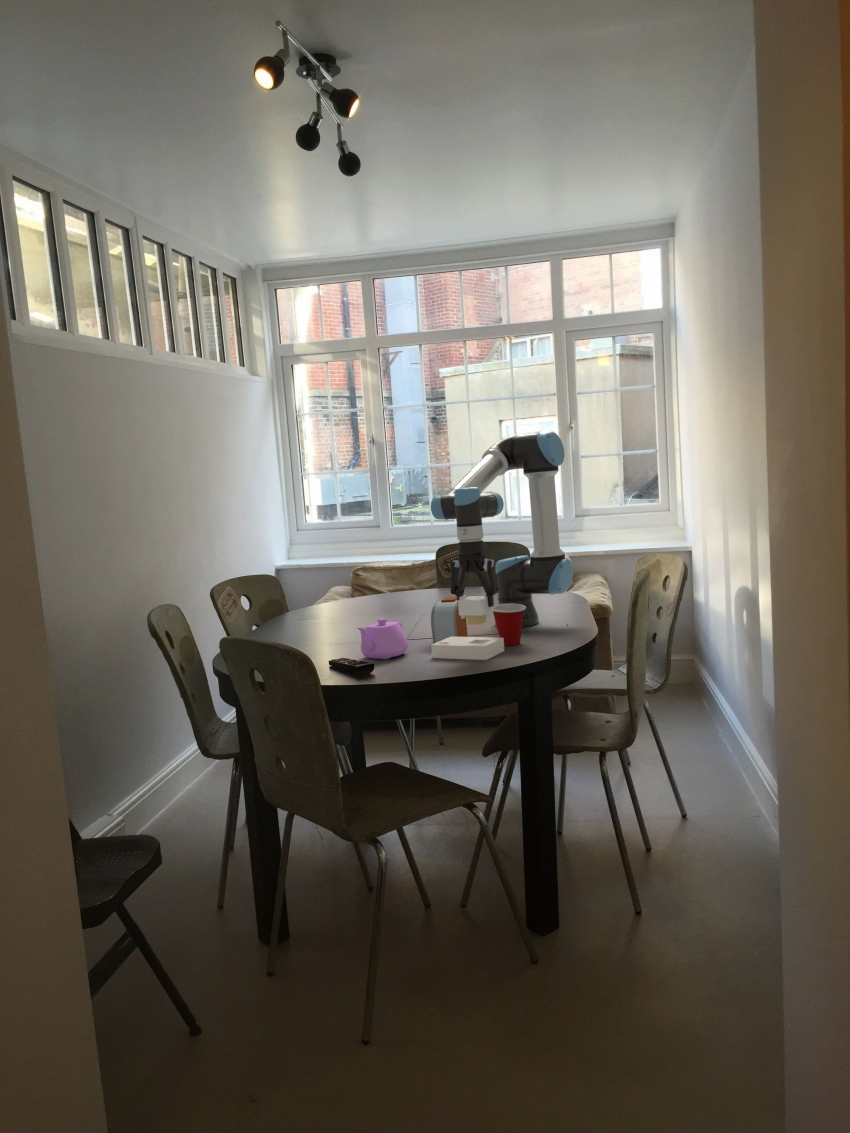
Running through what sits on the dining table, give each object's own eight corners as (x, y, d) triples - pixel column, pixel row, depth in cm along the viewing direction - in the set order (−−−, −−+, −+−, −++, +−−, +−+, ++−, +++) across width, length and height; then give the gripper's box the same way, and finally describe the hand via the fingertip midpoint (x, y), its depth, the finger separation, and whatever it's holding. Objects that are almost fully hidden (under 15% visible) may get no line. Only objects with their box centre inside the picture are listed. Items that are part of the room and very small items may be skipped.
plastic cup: (510, 649, 268) (506, 610, 267) (486, 645, 277) (483, 607, 275) (536, 642, 274) (533, 604, 273) (512, 639, 283) (509, 602, 282)
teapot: (387, 649, 286) (384, 613, 285) (420, 651, 278) (416, 614, 276) (345, 663, 270) (341, 624, 269) (378, 666, 262) (374, 626, 261)
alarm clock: (444, 636, 298) (440, 596, 297) (469, 635, 296) (465, 595, 294) (432, 646, 284) (428, 604, 283) (458, 645, 282) (454, 602, 280)
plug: (459, 625, 262) (457, 600, 261) (471, 620, 268) (469, 596, 267) (482, 625, 258) (480, 600, 257) (494, 621, 264) (492, 596, 264)
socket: (451, 649, 276) (450, 636, 276) (504, 650, 267) (503, 637, 266) (432, 658, 266) (431, 644, 266) (486, 659, 257) (485, 646, 256)
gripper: (434, 543, 263) (440, 619, 265) (496, 540, 252) (502, 620, 254) (446, 540, 269) (452, 615, 271) (507, 537, 259) (513, 615, 261)
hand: (476, 617), depth 263 cm, fingers closed on plug, 7 cm apart
